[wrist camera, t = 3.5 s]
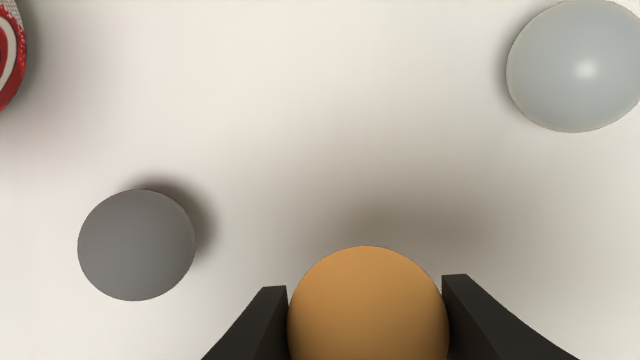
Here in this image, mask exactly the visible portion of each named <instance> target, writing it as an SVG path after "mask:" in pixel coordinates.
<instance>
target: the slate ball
mask: <svg viewBox="0 0 640 360" xmlns="http://www.w3.org/2000/svg"><path fill="white" fill-rule="evenodd" d="M506 80H507V86H508V89H509V93H510V95H511V97H512V99H513V101H514V103H515V104H516V106H517V107H518V109H519V110H520V111H521V112H522V113H523V114H524V115H525V116H526V117H527V118H529V119H530V120H531V121H533V122H534V123H536V124H538V125H540V126H542V127H544V128H547V129H549V130H553V131H558V132H566V133H580V132H587V131H592V130H596V129H599V128H602V127H604V126H607V125H609V124H611V123H613V122H615V121H617V120H618V119H620V118H621V117H623V116H624V115H625V114H627V113H628V112H629V111H630V110H631V109H632V108H633V107H634V106H635V105H636V104H637V103H638V102H639V100H640V19H639V18H638V17H637V16H636V15H635V14H634V13H633V12H632V11H630V10H628V9H627V8H625V7H623V6H621V5H619V4H617V3H614V2H611V1H608V0H569V1H566V2H562V3H559V4H557V5H555V6H552V7H550V8H548V9H546V10H545V11H543V12H541V13H540V14H538V15H537V16H536V17H534V18H533V19H532V20H531V21H530V22H529V23H528V24H527V25H526V26H525V27H524V28H523V30H522V31H521V32H520V33H519V35H518V36H517V38H516V39H515V41H514V43H513V45H512V47H511V50H510V53H509V56H508V60H507V67H506Z"/></svg>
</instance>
